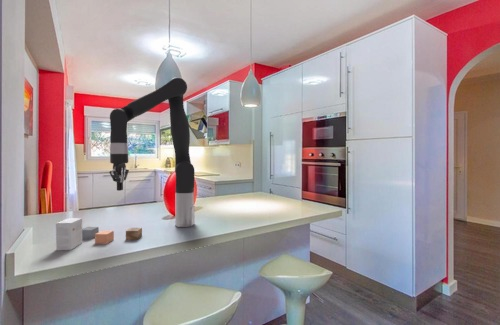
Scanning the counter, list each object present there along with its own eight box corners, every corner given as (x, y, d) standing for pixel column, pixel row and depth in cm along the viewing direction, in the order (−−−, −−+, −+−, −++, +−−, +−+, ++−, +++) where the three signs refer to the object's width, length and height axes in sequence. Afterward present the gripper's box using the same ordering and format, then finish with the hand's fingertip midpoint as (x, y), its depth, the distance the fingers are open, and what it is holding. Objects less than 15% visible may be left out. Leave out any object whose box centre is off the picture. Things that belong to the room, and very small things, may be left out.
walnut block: (142, 236, 117) (142, 227, 117) (137, 240, 112) (137, 230, 112) (130, 236, 117) (130, 227, 117) (125, 240, 112) (125, 230, 112)
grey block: (98, 235, 117) (98, 227, 117) (91, 239, 112) (90, 230, 112) (88, 235, 118) (88, 226, 118) (80, 239, 113) (79, 229, 113)
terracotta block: (113, 240, 112) (113, 230, 112) (106, 244, 107) (106, 234, 107) (102, 239, 112) (102, 230, 112) (95, 243, 107) (94, 234, 107)
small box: (68, 243, 107) (68, 217, 106) (82, 243, 107) (82, 217, 107) (55, 250, 99) (55, 223, 98) (71, 250, 99) (70, 222, 99)
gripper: (119, 152, 114) (120, 192, 114) (134, 153, 127) (134, 188, 127) (102, 153, 114) (103, 192, 114) (118, 153, 127) (119, 188, 128)
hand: (120, 190), depth 121 cm, fingers closed
